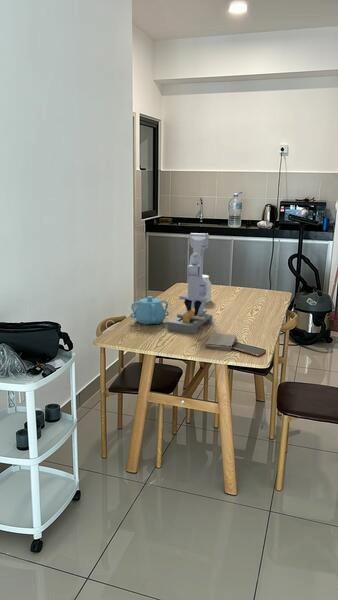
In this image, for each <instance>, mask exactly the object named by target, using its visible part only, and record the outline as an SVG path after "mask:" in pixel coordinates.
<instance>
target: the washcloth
mask: <svg viewBox="0 0 338 600" xmlns="http://www.w3.org/2000/svg"><path fill="white" fill-rule="evenodd" d="M236 341H237V334H231V333H228V334H225V333H220V332H219V333H217V332H215V333H214V332H213V333H211V335H210V336H209V338H208V339H207V340H206V343H205V349H211V350H217V351H218V350H219V351H226V352H227V351H228V352H229V351H231V350H232V349H231V347H232V345H233V343H234V344H235V343H236Z"/></svg>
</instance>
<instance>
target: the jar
mask: <svg viewBox="0 0 338 600" xmlns="http://www.w3.org/2000/svg"><path fill="white" fill-rule="evenodd" d="M202 278H203V279H204V280H205V281H206V282H207V295H206V296H204V298H207V303H209V302H211V301H212V282H211V281H210V275H208V274H203V276H202ZM201 285H203V284H201Z"/></svg>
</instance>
